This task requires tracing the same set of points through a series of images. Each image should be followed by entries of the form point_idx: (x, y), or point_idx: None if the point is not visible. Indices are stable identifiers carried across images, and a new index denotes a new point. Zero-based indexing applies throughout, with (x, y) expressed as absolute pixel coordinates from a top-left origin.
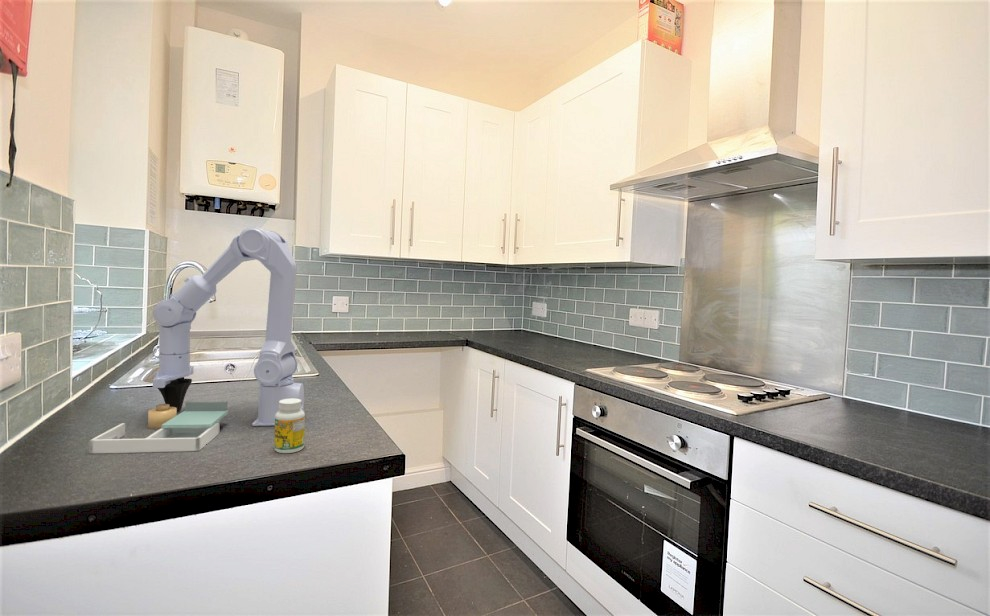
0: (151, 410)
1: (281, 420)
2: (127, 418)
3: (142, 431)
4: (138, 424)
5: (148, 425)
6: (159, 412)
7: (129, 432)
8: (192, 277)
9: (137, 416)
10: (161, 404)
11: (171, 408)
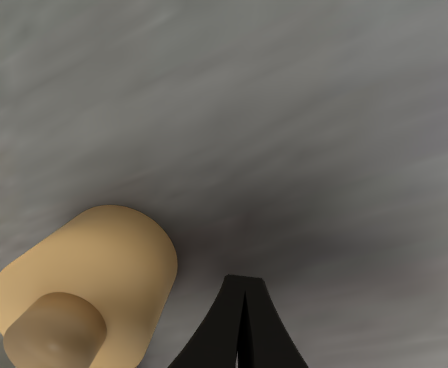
0: (47, 268)
1: None
2: (275, 13)
3: (25, 207)
4: (135, 143)
5: (73, 218)
6: (8, 323)
7: (4, 155)
8: None
9: (316, 62)
10: (67, 341)
11: (102, 359)
